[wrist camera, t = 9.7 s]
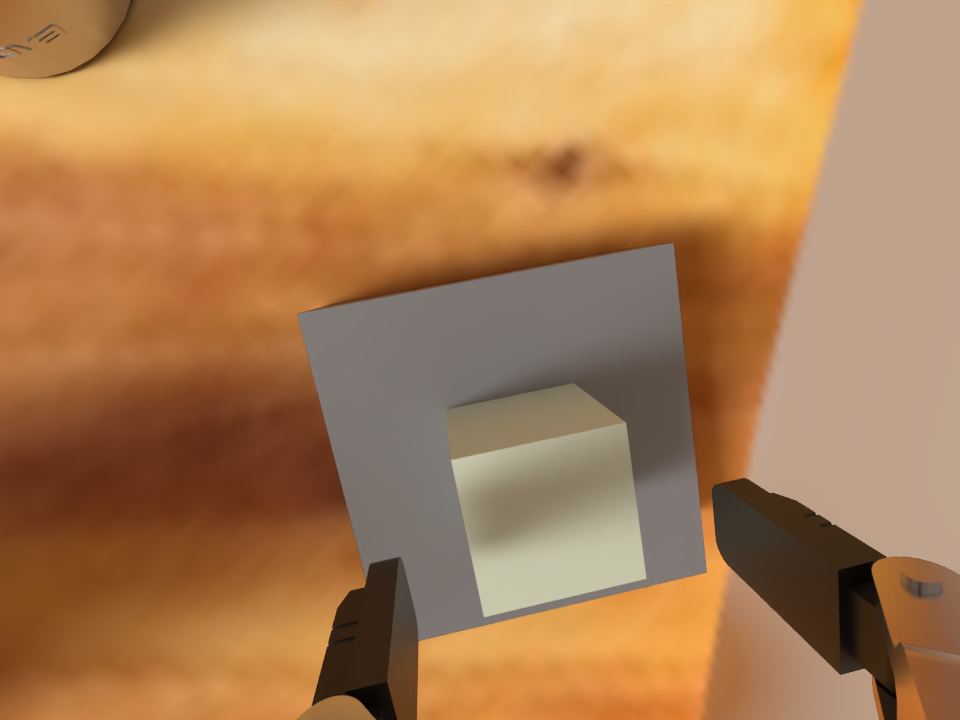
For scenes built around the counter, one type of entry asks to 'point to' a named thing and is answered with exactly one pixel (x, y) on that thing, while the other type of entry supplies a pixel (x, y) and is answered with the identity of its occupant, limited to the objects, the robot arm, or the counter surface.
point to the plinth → (497, 374)
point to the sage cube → (545, 497)
